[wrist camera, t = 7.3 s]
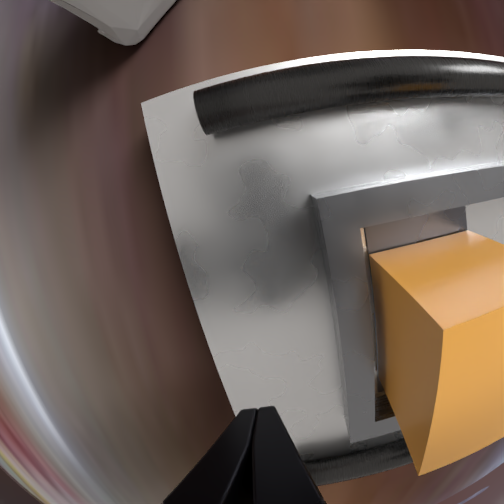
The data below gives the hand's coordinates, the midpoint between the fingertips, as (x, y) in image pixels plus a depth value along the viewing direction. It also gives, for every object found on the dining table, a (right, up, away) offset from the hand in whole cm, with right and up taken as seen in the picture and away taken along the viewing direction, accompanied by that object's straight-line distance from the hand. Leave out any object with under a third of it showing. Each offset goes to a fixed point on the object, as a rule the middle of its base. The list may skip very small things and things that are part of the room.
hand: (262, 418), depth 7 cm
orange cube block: (+6, +2, +3) cm, 7 cm away
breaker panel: (+10, +4, +4) cm, 11 cm away
